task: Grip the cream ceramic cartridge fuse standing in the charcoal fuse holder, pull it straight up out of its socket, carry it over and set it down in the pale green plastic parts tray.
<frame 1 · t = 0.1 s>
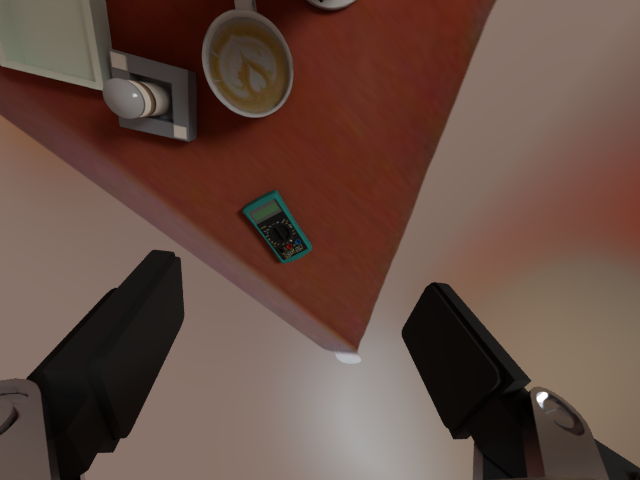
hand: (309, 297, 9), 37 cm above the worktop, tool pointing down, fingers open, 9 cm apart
digital multimeter: (279, 225, 49), on the worktop
parts tray: (58, 10, 30), on the worktop
coffee mug: (259, 61, 35), on the worktop
fuse: (160, 99, 35), point 1 cm above the worktop, touching fuse holder
fuse holder: (164, 99, 36), on the worktop
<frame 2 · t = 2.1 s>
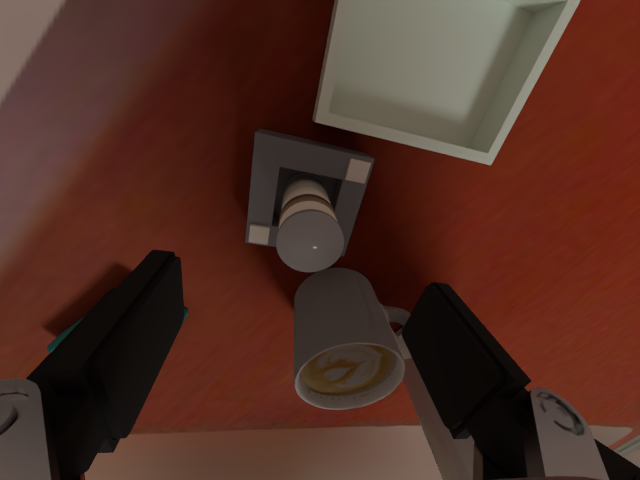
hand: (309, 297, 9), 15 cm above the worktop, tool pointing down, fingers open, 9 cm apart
parts tray: (420, 66, 19), on the worktop
coffee mug: (347, 300, 30), on the worktop
fuse: (304, 193, 22), point 1 cm above the worktop, touching fuse holder
fuse holder: (304, 190, 23), on the worktop
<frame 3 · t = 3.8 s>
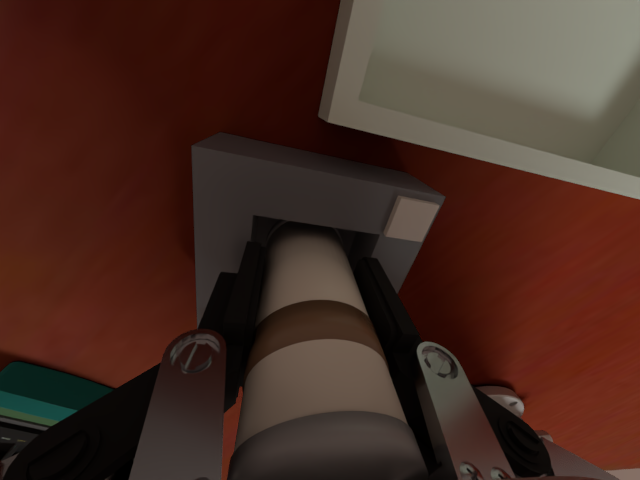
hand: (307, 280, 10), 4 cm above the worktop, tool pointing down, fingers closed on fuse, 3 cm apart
digital multimeter: (44, 410, 20), on the worktop
parts tray: (535, 8, 9), on the worktop
fuse: (304, 246, 12), point 1 cm above the worktop, touching fuse holder, gripper
fuse holder: (303, 236, 13), on the worktop
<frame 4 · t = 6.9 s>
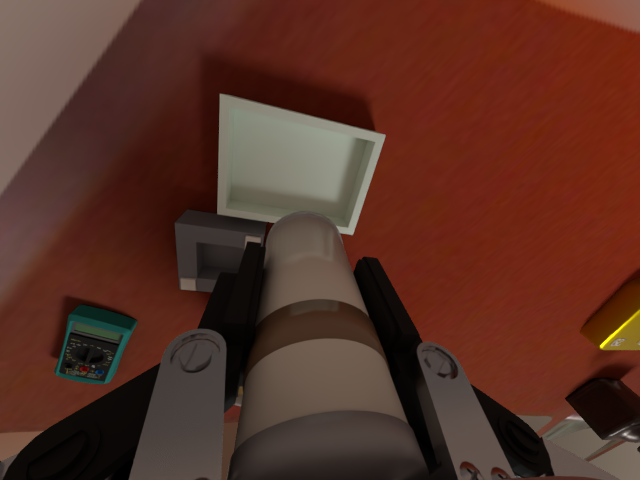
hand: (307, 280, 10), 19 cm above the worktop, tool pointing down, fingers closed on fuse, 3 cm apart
element tile: (627, 306, 48), on the worktop
digital multimeter: (102, 338, 37), on the worktop
parts tray: (297, 168, 27), on the worktop
fuse: (304, 245, 12), point 16 cm above the worktop, touching gripper
manual coffee grinder: (585, 387, 64), on the worktop
fuse holder: (226, 247, 31), on the worktop
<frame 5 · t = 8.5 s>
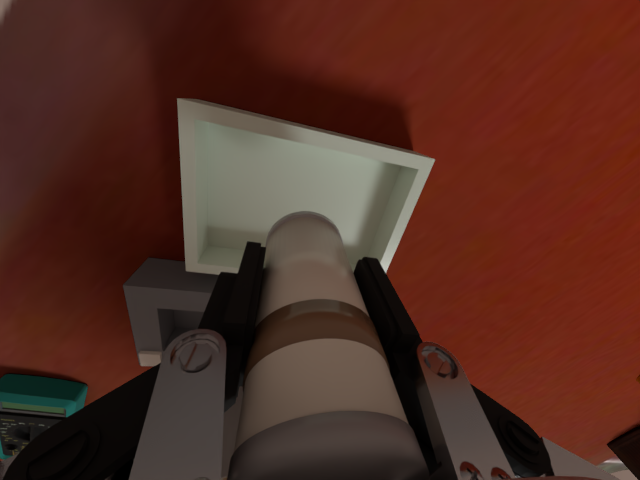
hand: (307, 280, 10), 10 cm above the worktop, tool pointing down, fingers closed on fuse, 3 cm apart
digital multimeter: (53, 406, 29), on the worktop
parts tray: (300, 202, 19), on the worktop
coffee mug: (273, 381, 31), on the worktop
fuse: (304, 245, 12), point 7 cm above the worktop, touching gripper
manual coffee grinder: (631, 432, 55), on the worktop
fuse holder: (206, 302, 23), on the worktop
when the fingers open (4 cm above the worktop, at t = 9.9 s): fuse stays where it is, resting on parts tray.
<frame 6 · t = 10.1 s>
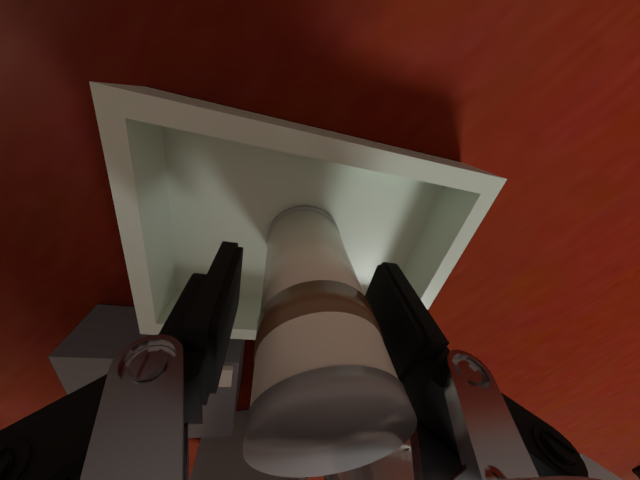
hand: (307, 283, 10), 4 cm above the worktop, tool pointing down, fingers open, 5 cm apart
parts tray: (302, 232, 14), on the worktop
coffee mug: (269, 430, 26), on the worktop
fuse: (303, 238, 13), point 1 cm above the worktop, touching parts tray
fuse holder: (180, 353, 18), on the worktop
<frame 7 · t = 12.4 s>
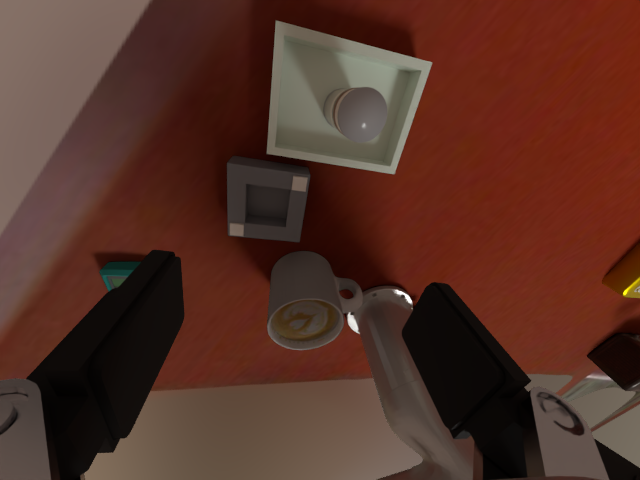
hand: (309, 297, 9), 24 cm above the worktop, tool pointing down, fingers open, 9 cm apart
digital multimeter: (149, 295, 38), on the worktop
parts tray: (339, 108, 27), on the worktop
coffee mug: (312, 275, 40), on the worktop
fuse: (340, 109, 27), point 1 cm above the worktop, touching parts tray
manual coffee grinder: (606, 343, 65), on the worktop
fuse holder: (268, 196, 31), on the worktop
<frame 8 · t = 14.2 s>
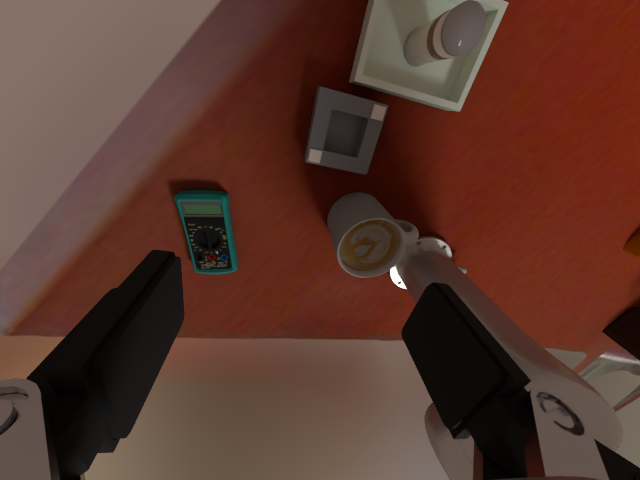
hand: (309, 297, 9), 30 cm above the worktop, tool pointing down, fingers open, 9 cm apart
digital multimeter: (212, 230, 41), on the worktop
parts tray: (416, 48, 31), on the worktop
coffee mug: (364, 220, 42), on the worktop
fuse: (418, 47, 30), point 1 cm above the worktop, touching parts tray
manual coffee grinder: (622, 319, 68), on the worktop
fuse holder: (340, 131, 35), on the worktop
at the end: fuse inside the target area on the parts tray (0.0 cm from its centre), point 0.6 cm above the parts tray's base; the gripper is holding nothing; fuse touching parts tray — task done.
